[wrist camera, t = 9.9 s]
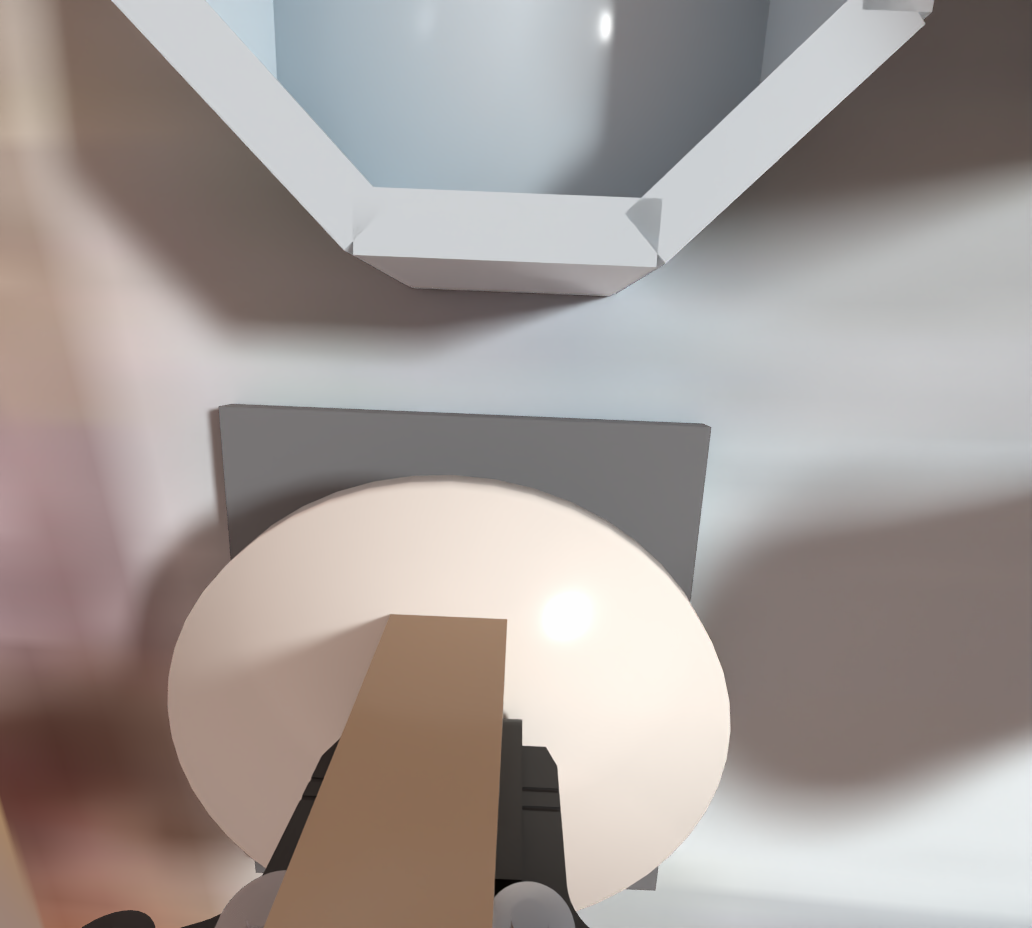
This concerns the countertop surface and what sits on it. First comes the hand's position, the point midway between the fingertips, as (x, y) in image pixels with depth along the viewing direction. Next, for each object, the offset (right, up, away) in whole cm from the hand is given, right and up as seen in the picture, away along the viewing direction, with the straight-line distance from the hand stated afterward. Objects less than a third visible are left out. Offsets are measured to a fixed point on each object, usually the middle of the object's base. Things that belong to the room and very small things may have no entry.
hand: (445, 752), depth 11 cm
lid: (0, 0, +1) cm, 1 cm away
